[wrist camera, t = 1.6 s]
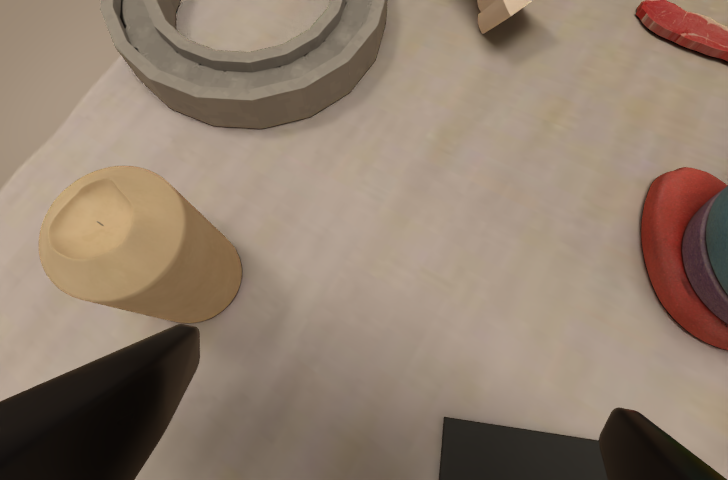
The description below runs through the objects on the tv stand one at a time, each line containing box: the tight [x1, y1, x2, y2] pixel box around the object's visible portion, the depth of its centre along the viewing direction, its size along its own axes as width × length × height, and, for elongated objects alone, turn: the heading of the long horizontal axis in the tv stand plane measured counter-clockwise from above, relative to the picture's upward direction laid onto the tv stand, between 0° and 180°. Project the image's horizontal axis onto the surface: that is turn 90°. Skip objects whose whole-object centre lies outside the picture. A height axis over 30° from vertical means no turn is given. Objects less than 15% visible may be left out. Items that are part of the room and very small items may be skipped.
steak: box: [636, 0, 728, 61], centre depth 29 cm, size 10×1×3 cm
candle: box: [39, 166, 242, 323], centre depth 19 cm, size 6×6×10 cm
